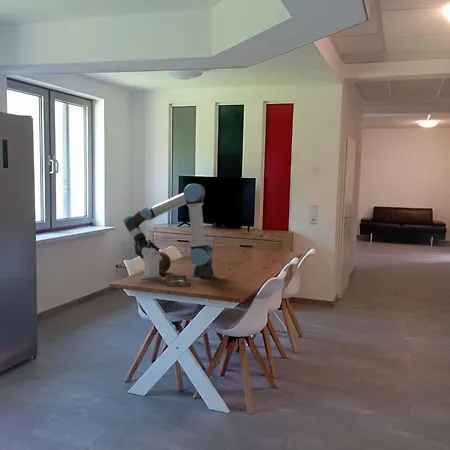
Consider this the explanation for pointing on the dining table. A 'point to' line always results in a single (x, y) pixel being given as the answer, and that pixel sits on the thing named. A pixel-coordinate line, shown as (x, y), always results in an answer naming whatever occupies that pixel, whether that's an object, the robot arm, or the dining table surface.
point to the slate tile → (151, 278)
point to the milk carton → (151, 263)
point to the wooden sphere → (164, 263)
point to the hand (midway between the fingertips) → (153, 260)
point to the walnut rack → (172, 281)
